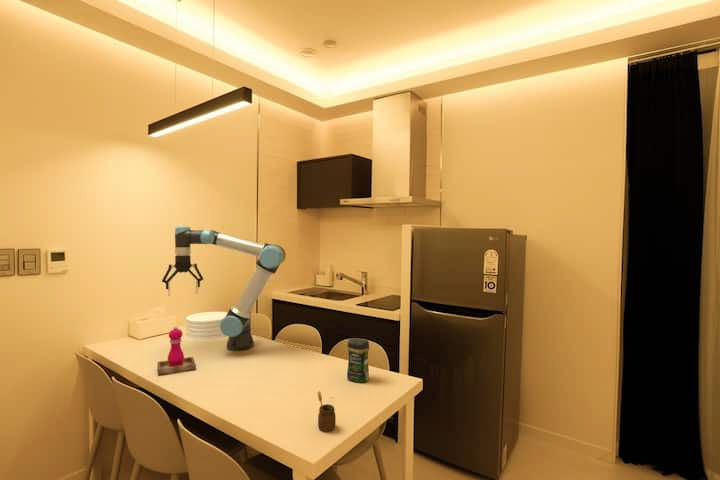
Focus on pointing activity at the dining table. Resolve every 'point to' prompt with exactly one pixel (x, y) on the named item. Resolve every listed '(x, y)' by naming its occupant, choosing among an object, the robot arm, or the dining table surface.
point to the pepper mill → (175, 348)
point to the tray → (176, 367)
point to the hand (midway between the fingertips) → (183, 294)
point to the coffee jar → (358, 360)
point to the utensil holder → (326, 416)
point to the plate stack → (204, 325)
